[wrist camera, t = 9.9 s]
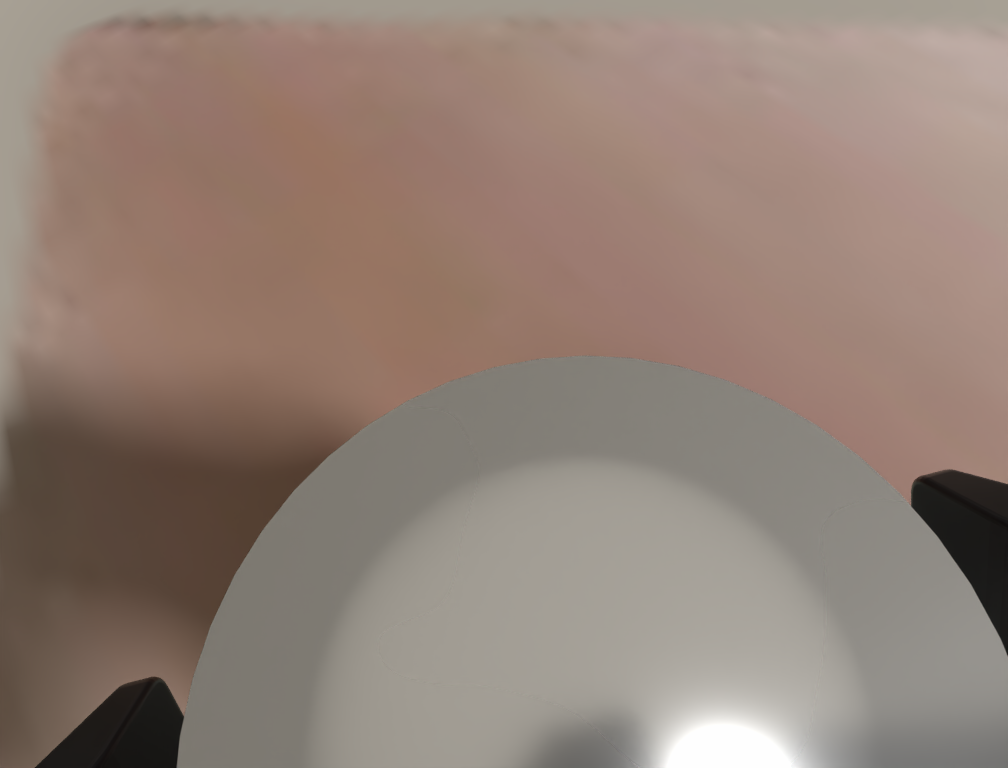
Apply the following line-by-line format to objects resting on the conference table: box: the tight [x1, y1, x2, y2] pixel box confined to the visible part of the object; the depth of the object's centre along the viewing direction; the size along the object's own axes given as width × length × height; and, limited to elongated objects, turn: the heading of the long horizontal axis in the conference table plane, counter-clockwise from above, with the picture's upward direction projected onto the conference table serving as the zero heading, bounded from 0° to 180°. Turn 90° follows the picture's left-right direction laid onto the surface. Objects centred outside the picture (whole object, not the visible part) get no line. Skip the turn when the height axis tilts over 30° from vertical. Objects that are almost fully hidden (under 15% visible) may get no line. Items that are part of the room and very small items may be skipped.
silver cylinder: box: [177, 356, 1008, 768], centre depth 10 cm, size 6×6×13 cm
